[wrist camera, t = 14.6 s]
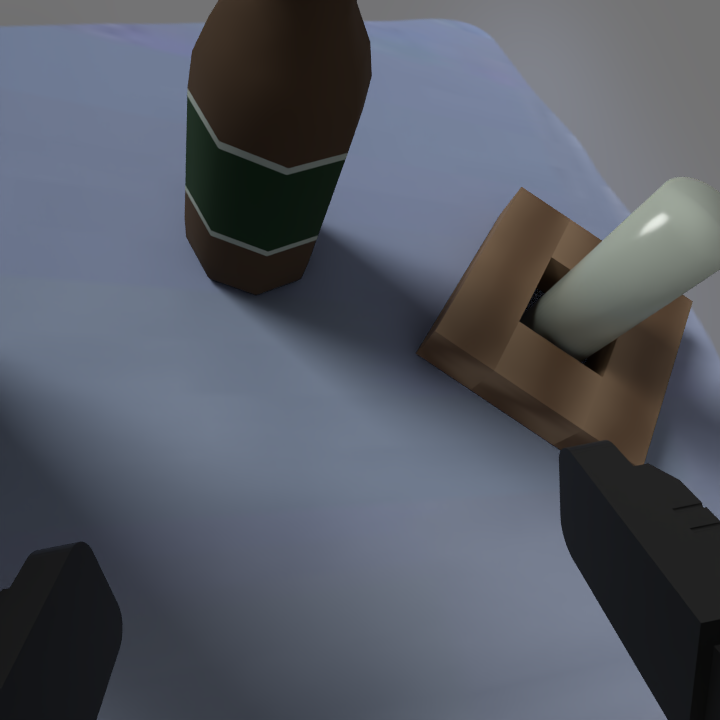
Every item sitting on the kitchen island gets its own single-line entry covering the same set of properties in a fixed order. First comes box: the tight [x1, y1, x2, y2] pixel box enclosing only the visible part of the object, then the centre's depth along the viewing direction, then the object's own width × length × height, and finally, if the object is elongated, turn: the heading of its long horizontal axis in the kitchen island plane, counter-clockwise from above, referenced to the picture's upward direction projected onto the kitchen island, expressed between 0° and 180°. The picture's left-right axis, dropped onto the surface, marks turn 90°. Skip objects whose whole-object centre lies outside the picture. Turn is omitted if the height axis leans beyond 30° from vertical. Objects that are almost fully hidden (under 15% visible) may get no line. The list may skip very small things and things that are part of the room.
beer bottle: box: [185, 0, 372, 295], centre depth 25 cm, size 8×8×24 cm
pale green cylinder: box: [519, 177, 720, 362], centre depth 33 cm, size 5×5×13 cm
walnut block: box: [416, 187, 692, 466], centre depth 37 cm, size 14×14×3 cm
